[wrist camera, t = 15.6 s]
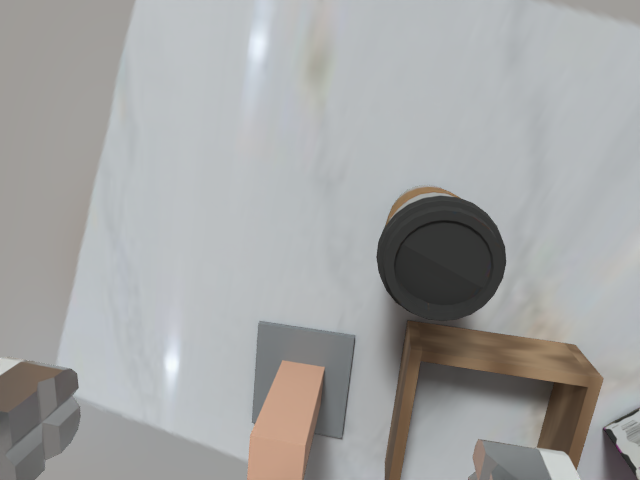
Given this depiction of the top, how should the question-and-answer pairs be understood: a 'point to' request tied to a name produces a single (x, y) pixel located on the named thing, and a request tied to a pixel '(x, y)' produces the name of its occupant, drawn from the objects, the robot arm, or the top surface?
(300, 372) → the terracotta block
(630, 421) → the candy bar box
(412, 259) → the coffee cup
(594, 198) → the top surface
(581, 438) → the walnut bay
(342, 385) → the slate coaster
